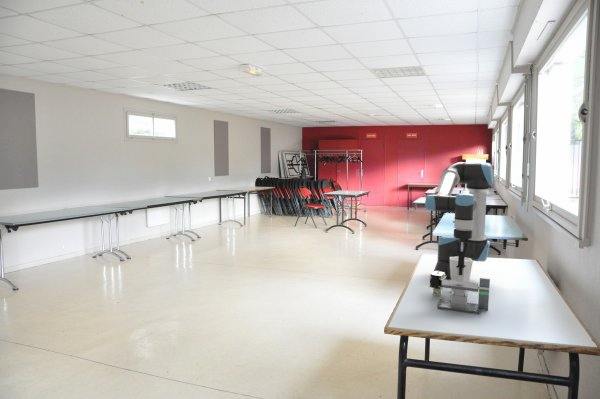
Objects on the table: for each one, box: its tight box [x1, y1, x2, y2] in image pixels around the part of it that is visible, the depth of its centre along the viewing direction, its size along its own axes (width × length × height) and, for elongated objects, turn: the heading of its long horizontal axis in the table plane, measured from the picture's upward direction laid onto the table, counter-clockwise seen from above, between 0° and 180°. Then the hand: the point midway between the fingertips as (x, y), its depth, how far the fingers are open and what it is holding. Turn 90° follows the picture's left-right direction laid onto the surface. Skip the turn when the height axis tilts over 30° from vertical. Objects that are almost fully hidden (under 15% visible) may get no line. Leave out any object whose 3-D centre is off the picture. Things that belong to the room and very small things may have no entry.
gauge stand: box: [437, 277, 491, 315], centre depth 188 cm, size 20×11×14 cm, turn 68°
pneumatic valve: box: [429, 271, 447, 298], centre depth 205 cm, size 6×12×12 cm, turn 148°
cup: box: [450, 256, 474, 294], centre depth 210 cm, size 11×10×17 cm
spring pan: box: [441, 279, 490, 296], centre depth 188 cm, size 19×9×6 cm, turn 68°
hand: (460, 281), depth 188 cm, fingers closed
